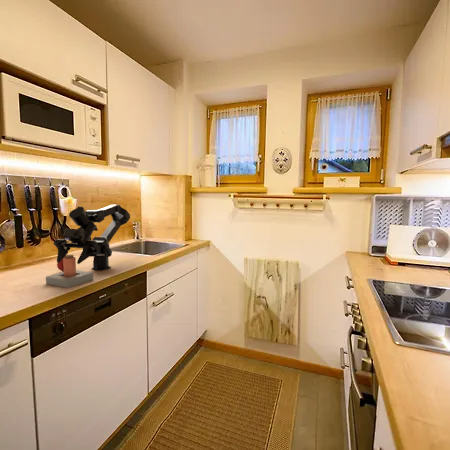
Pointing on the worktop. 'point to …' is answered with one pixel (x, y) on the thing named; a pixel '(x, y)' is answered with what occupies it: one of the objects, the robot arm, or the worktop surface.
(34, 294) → the worktop surface
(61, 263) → the onion
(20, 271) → the worktop surface
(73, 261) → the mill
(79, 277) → the socket board
